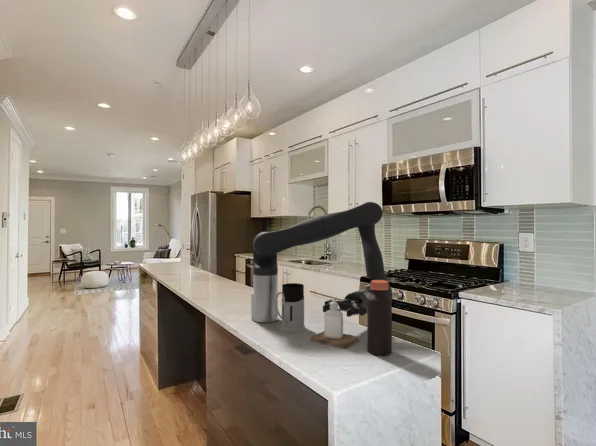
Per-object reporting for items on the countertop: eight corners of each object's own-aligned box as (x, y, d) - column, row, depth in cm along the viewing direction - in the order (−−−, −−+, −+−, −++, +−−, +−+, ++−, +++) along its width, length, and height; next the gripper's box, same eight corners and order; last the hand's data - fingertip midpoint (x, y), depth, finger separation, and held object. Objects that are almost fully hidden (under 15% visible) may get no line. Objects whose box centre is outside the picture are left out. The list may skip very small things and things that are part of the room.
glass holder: (310, 327, 121) (310, 284, 121) (286, 338, 109) (286, 291, 109) (289, 323, 126) (289, 282, 126) (265, 333, 114) (265, 288, 114)
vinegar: (362, 352, 97) (362, 281, 97) (375, 345, 102) (375, 278, 102) (384, 358, 93) (384, 284, 93) (396, 351, 98) (396, 281, 98)
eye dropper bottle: (335, 341, 103) (335, 301, 103) (322, 336, 108) (322, 298, 108) (345, 337, 106) (345, 299, 106) (331, 333, 111) (331, 296, 111)
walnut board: (310, 340, 107) (310, 337, 107) (326, 333, 114) (326, 330, 114) (344, 348, 100) (344, 345, 100) (358, 340, 107) (358, 337, 107)
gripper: (341, 288, 125) (316, 296, 112) (378, 293, 116) (356, 302, 103) (341, 309, 125) (316, 319, 112) (378, 315, 116) (356, 327, 103)
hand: (335, 311), depth 107 cm, fingers open, 8 cm apart
